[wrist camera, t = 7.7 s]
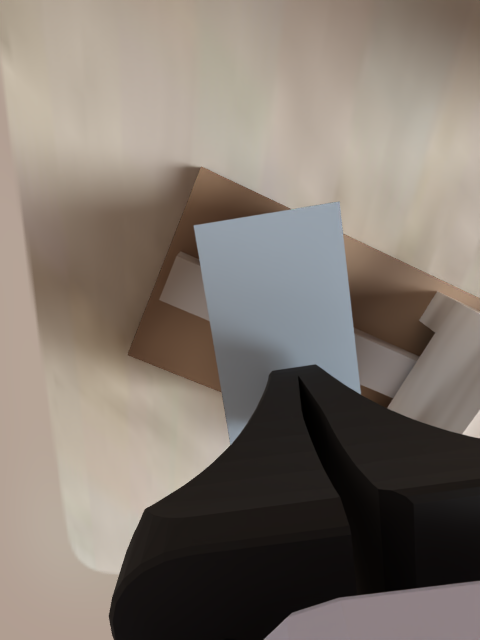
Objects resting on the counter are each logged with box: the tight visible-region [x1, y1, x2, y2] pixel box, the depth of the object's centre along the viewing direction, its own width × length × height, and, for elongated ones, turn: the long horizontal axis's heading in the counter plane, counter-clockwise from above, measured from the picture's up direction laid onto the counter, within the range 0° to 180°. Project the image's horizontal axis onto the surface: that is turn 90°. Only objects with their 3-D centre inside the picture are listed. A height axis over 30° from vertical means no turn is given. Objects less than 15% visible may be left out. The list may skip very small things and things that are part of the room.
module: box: [194, 202, 361, 445], centre depth 15 cm, size 4×9×6 cm, turn 9°
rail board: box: [128, 167, 480, 438], centre depth 16 cm, size 17×9×7 cm, turn 66°
